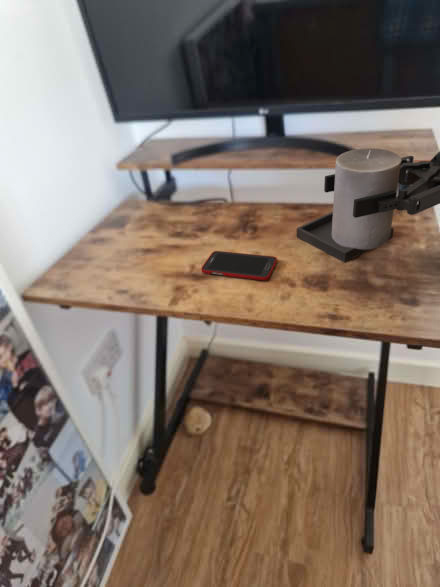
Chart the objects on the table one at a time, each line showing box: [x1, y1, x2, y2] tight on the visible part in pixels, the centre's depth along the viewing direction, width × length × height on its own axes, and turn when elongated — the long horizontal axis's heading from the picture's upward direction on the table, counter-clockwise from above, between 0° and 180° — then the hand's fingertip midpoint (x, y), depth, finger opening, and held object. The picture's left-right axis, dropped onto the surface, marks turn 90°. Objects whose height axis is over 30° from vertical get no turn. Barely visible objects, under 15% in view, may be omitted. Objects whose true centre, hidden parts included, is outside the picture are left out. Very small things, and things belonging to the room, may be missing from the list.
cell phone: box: [200, 250, 278, 281], centre depth 84 cm, size 8×15×1 cm, turn 69°
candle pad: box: [296, 211, 395, 263], centre depth 88 cm, size 14×14×2 cm
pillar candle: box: [332, 147, 402, 251], centre depth 66 cm, size 10×10×15 cm
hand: (339, 195), depth 65 cm, fingers closed on pillar candle, 9 cm apart
